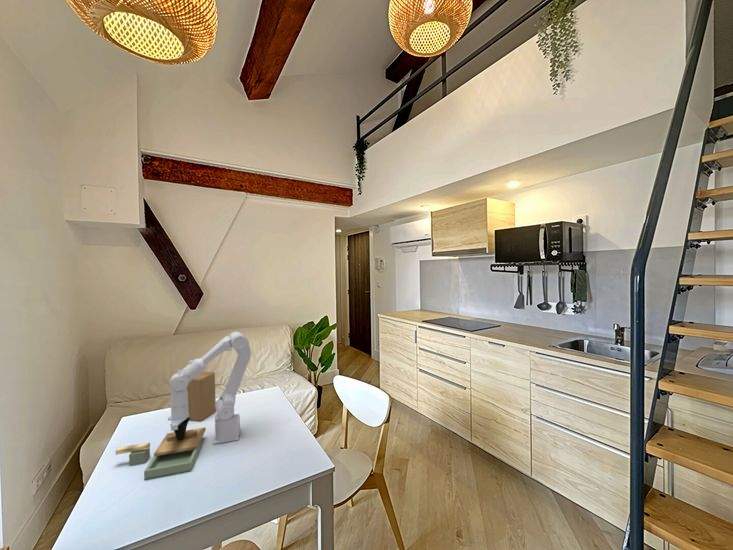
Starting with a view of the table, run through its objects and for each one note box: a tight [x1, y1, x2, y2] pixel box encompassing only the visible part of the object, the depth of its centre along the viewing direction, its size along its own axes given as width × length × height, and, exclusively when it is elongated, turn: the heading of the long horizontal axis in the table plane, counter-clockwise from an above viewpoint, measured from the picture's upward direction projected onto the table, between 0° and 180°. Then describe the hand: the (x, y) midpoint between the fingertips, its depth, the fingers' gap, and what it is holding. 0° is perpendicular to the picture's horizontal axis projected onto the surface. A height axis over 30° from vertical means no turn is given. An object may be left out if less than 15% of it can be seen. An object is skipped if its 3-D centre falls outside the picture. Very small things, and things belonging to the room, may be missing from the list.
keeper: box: [128, 446, 151, 467], centre depth 110 cm, size 5×4×4 cm
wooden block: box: [187, 371, 217, 422], centre depth 144 cm, size 10×10×20 cm
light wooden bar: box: [115, 442, 151, 455], centre depth 109 cm, size 10×2×2 cm, turn 107°
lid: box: [153, 426, 207, 457], centre depth 117 cm, size 14×14×2 cm
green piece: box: [143, 440, 202, 481], centre depth 109 cm, size 14×14×3 cm
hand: (180, 439), depth 116 cm, fingers closed
